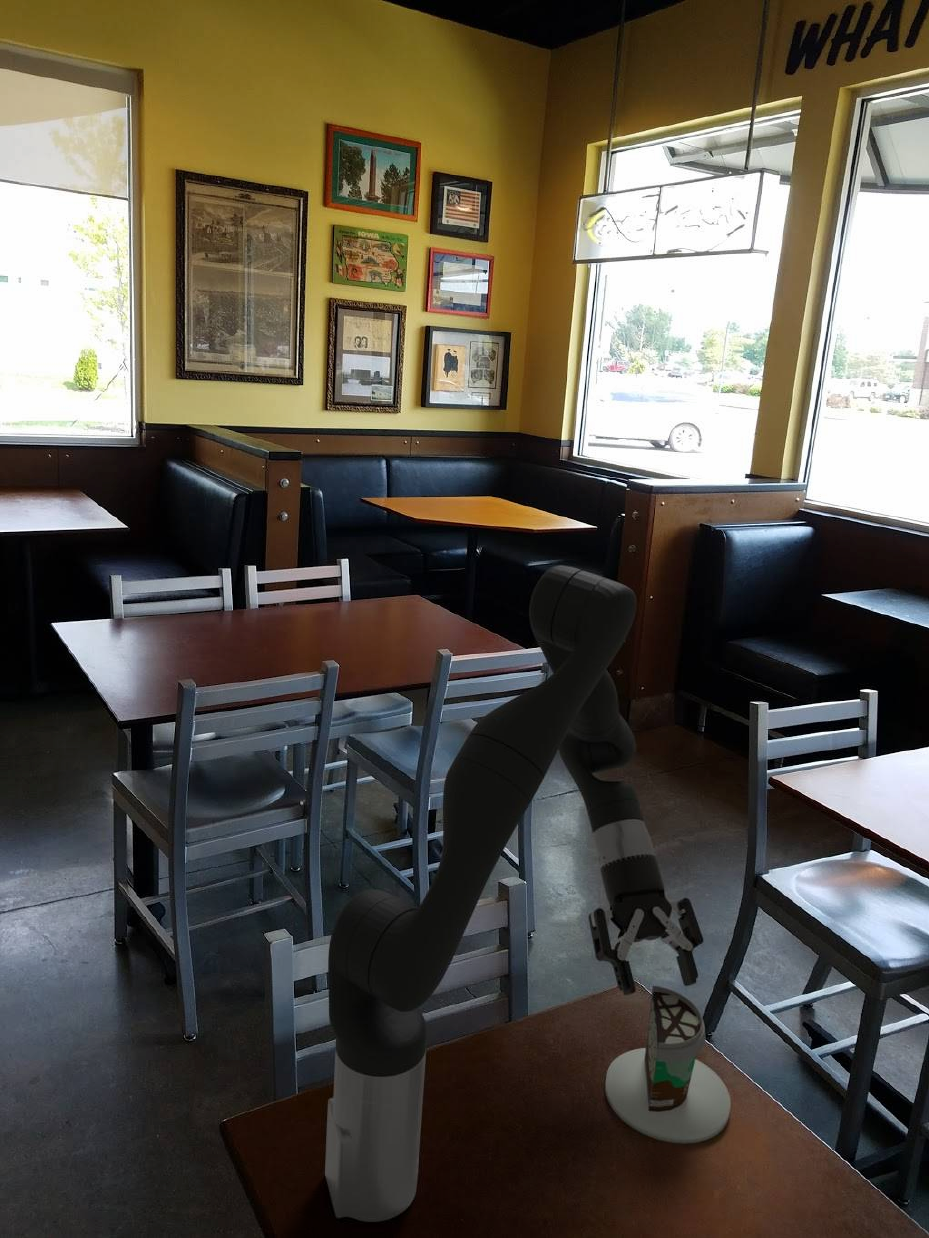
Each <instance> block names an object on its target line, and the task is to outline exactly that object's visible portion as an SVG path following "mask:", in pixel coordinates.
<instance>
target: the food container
mask: <svg viewBox="0 0 929 1238" xmlns="http://www.w3.org/2000/svg"><path fill="white" fill-rule="evenodd" d="M650 998H651V999H650V1007H649V1008H650V1009H649V1016H648V1025H647V1033H646V1042H645V1048H646V1050H645V1072H646V1085H647V1098H648V1111H655V1112H661V1111H669V1110H672V1109H674V1108H677V1107H679V1106H680V1105H681V1104H682V1103H683V1102H684V1101H685V1100H686V1097H687V1093H688V1089H689V1085H690V1080H691V1076H692V1072H693V1067H694V1063H695V1059H696V1060H697V1055H698V1054H699V1053H700V1052H701V1051H702V1050H703V1048H704V1046H705V1044H706V1039H707V1038H706V1028H705V1022H704V1018H703V1016H702V1013H701V1011H700V1009H699V1008H698V1007H697V1006H696V1005H695V1004H694V1003H693V1002H692V1001H691V1000H690V999H689V998H687V997H685V996H684V995H682V994H681V993H679V992H677V991H674V990H672V989H668V988H667V987H663V986H662V987H661V986H659V985H652V989H651V995H650Z"/></svg>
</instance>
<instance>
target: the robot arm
mask: <svg viewBox="0 0 929 1238" xmlns="http://www.w3.org/2000/svg"><path fill="white" fill-rule="evenodd" d="M637 601H638V600H637V597H636V594H635V592H634V591H633V590H632V589H631V588H630V587H628V586H626V585H625V584H622V583H620V582H617V581H615V580H613V579H609V578H606V577H604V576H601V575H598V574H594V573H592V572H589V571H586V570H583V569H581V568H577V567H573V566H569V565H568V566H567V565H561V564H560V565H555V566H552V567H549V569H547V570H546V571H545V572H544V573H543V574H542V575H541V577H540V578H539V579H538V581H537V583H536V585H535V587H534V589H533V592H532V594H531V597H530V602H529V607H528V608H529V609H528V615H529V618H528V619H529V624H530V627H531V631H532V633H533V636H534V638H535V641H536V642H537V644H538V646H539V648H540V650H541V652H542V653H543V656H544V658H545V660H546V662H547V664H548V666H549V668H550V671H551V672H552V674H551V675H550V676H549V677H547V678H546V679H545V680H544V681H542V682H541V683H539V684H538V685H537V684H536V686H534V687H532V688H531V689H529V690H528V691H527V690H526V691H525V692H523V693H521V694H520V695H518V696H515V697H513V698H512V699H510V700H509V701H506V702H505V703H503V704H502V705H499V706H498V707H496V708H495V709H493V710H491V711H490V712H489V713H487V714H486V715H485V716H483V717H482V718H481V719H480V720H479V721H478V722H477V723H476V724H475V725H474V727H473V728H472V730H471V731H470V732H469V734H468V736H467V737H466V739H465V741H464V742H463V745H462V746H461V748H460V749H459V751H458V752H457V754H456V756H455V757H454V758H453V761H452V763H451V765H450V766H449V769H448V771H447V773H446V775H445V779H444V785H443V792H442V849H441V854H440V855H441V856H440V860H439V864H438V867H437V871H436V873H435V874H434V878H433V881H432V882H431V884H430V886H429V889H428V891H427V892H426V895H425V897H424V898H423V900H422V902H420V905H419V906H418V907H416V906H414V905H413V904H411V903H409V902H407V901H406V900H403V899H401V898H399V897H397V896H395V895H393V894H391V893H388V892H386V891H384V890H380V889H366V890H363V891H361V892H359V893H357V894H355V895H353V896H352V897H351V899H349V901H347V903H345V905H344V906H343V908H342V909H341V911H340V912H339V913H338V915H337V917H336V921H335V923H334V925H333V929H332V932H331V935H330V940H329V947H328V958H327V961H328V962H327V976H328V977H327V979H328V981H327V982H328V983H327V984H328V985H327V986H328V988H327V989H328V1019H329V1024H330V1027H331V1030H332V1032H333V1035H334V1037H335V1056H334V1058H335V1059H334V1075H333V1076H334V1077H333V1080H334V1081H333V1097H331V1098H329V1099H328V1100H327V1115H326V1116H327V1119H326V1142H325V1164H324V1165H325V1166H324V1176H325V1180H326V1183H327V1187H328V1191H329V1194H330V1199H331V1203H332V1208H333V1210H334V1214H335V1215H334V1216H335V1218H337V1219H341V1218H350V1219H351V1218H352V1219H355V1220H357V1221H360V1222H366V1223H367V1222H368V1223H374V1222H375V1223H377V1222H383V1221H388V1220H391V1219H393V1218H396V1217H397V1216H399V1215H400V1214H402V1213H403V1212H405V1211H406V1210H407V1209H408V1208H409V1207H410V1206H411V1204H412V1202H413V1200H414V1199H415V1197H416V1193H417V1184H418V1179H419V1178H418V1177H419V1157H420V1156H419V1155H420V1144H421V1143H420V1142H421V1130H422V1129H421V1127H422V1115H423V1100H424V1088H425V1087H424V1085H425V1084H424V1083H425V1073H426V1071H425V1070H426V1054H427V1041H428V1040H427V1039H428V1028H427V1022H426V1019H425V1016H424V1015H423V1013H422V1011H421V1010H420V1009H419V1008H420V1007H421V1006H422V1005H423V1004H425V1002H427V1000H429V999H430V997H431V996H432V995H433V993H435V991H436V989H437V988H438V987H439V985H440V984H441V981H442V980H443V978H444V977H445V975H446V973H447V971H448V969H449V967H450V965H451V963H452V961H453V959H454V956H455V954H456V952H457V950H458V948H459V946H460V944H461V941H462V938H463V936H464V934H465V932H466V929H467V927H468V925H469V923H470V920H471V918H472V916H473V913H474V911H475V909H476V907H477V904H478V902H479V900H480V898H481V896H482V894H483V891H484V889H485V887H486V886H487V883H488V881H489V879H490V877H491V874H492V872H493V871H494V869H495V867H496V865H497V863H498V861H499V859H500V857H501V855H502V854H503V852H504V850H505V848H506V846H507V844H508V842H509V840H510V839H511V838H512V836H513V834H514V831H515V830H516V829H517V827H518V824H519V823H520V821H521V819H522V818H523V816H524V814H525V813H526V811H527V809H528V808H529V806H530V804H531V803H532V801H533V799H534V797H535V795H536V793H537V792H538V789H539V788H540V786H541V785H542V782H543V780H544V779H545V777H546V775H547V772H548V771H549V769H550V767H551V765H552V763H553V761H554V759H555V758H556V755H557V753H559V755H560V758H561V760H562V763H563V764H564V766H565V768H566V769H567V771H568V773H569V774H570V777H571V778H572V779H573V781H574V783H575V784H576V786H577V788H578V790H579V793H580V795H581V797H582V800H583V802H584V805H585V808H586V811H587V815H588V819H589V823H590V827H591V831H592V832H591V833H592V836H593V841H594V843H593V844H594V851H595V854H596V860H597V861H596V862H597V864H598V867H599V870H600V872H599V873H600V875H601V879H602V884H603V888H604V892H605V896H606V900H607V901H608V904H609V909H606V910H605V909H603V908H602V907H598V908H597V909H595V910H594V911H592V912H590V913H589V915H588V923H589V929H590V933H591V938H592V945H593V949H594V955H595V959H596V960H597V961H598V962H602V961H603V962H608V963H610V964H611V965H612V969H613V972H614V976H615V980H616V985H617V988H618V989H619V991H620V992H622V993H623V995H624V996H630V995H632V994H634V993H636V990H637V989H636V985H635V981H634V977H633V973H632V969H631V965H630V961H629V960H626V959H627V957H628V954H629V952H630V948H631V946H632V945H633V944H634V943H639V942H642V941H643V940H646V941H655V940H658V939H659V940H660V941H661V942H662V943H663V944H666V945H668V947H670V948H671V949H672V950H673V951H674V952H675V953H676V955H677V956H676V962H677V965H678V968H679V969H678V970H679V973H680V976H681V980H682V983H683V986H685V987H690V986H693V985H695V984H697V979H698V977H699V972H698V968H697V965H696V962H695V958H694V954H693V950H695V948H697V947H699V946H700V945H702V944H703V943H704V937H703V934H702V931H701V927H700V926H699V922H698V920H697V917H696V913H695V910H694V908H693V905H692V902H691V900H690V898H688V897H684V898H682V899H680V900H678V901H672V902H670V901H669V900H668V899H667V897H666V893H665V885H664V881H663V878H662V874H661V870H660V868H659V863H658V859H657V856H656V853H655V852H656V851H655V849H654V845H653V842H652V839H651V836H650V834H649V831H648V829H647V827H646V824H645V820H644V817H643V813H642V809H641V806H640V803H639V799H638V795H637V792H636V790H635V788H634V785H632V784H631V783H629V782H627V781H619V780H617V781H616V780H603V779H598V778H597V777H596V776H595V775H593V774H594V773H595V774H596V773H600V772H605V771H610V770H614V769H618V768H619V769H620V768H623V767H625V766H626V765H629V764H630V763H631V762H632V761H633V758H634V757H635V755H636V752H637V744H636V738H635V735H634V733H633V732H632V731H633V730H632V729H631V728H630V725H629V724H628V722H627V721H626V720H625V718H624V717H623V716H622V715H621V714H620V710H619V708H620V707H619V699H618V698H619V697H618V693H617V689H616V684H615V682H614V680H613V678H612V676H611V674H610V673H609V672H608V668H609V666H610V665H611V663H612V662H613V660H614V658H615V657H616V655H617V654H618V652H619V650H620V649H621V648H622V647H623V644H624V643H625V641H626V639H627V636H628V634H629V632H630V630H631V628H632V625H633V623H634V620H635V616H636V613H637V607H638V606H637V603H638V602H637ZM672 914H673V917H674V918H675V919H677V921H678V923H679V926H677V925H676V923H674V922H673V921H672V920H671V919H670V918H671V915H672ZM610 921H611V922H612V924H613V925H614V926H615V927H616V928H617V929H618V932H617V935H616V937H615V940H614V943H613V948H612V944H611V939H610V934H609V929H608V927H609V926H610V924H611V923H610ZM679 927H680V928H679Z"/></svg>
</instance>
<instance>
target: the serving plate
mask: <svg viewBox="0 0 929 1238" xmlns="http://www.w3.org/2000/svg"><path fill="white" fill-rule="evenodd" d="M645 1050H646V1047H641V1048H636V1049H632V1050H629V1051H626V1052H624V1053H622V1054H620V1055H618V1056H617V1057H616V1058H615V1059H613V1061H612V1062H611V1063H610V1065H609V1066H608V1069H607V1071H606V1076H605V1077H606V1078H605V1084H604V1086H605V1087H604V1088H605V1089H604V1092H605V1095H606V1098H607V1101H608V1103H609V1105H610V1107H611V1109H612V1110H613V1112H614V1113H615V1115H617V1116H618V1117H619V1118H620V1119H621V1120H622V1121H623V1122H624V1123H625V1124H626V1125H628V1126H630V1127H631V1128H632V1129H634V1130H636V1131H637V1132H639V1133H641V1134H643V1135H645V1136H648V1137H649V1138H652V1139H655V1140H658V1141H663V1142H667V1143H674V1144H685V1145H686V1144H695V1143H701V1142H705V1141H707V1140H709V1139H712V1138H714V1137H716V1136H717V1135H718V1134H720V1133H721V1132H722V1131H723V1130H724V1129H725V1127H726V1125H727V1124H728V1121H729V1118H730V1111H731V1105H732V1104H731V1097H730V1093H729V1090H728V1088H727V1086H726V1084H725V1083H724V1082H723V1080H722V1079H721V1077H720V1076H719V1075H718V1074H717V1073H716V1072H715V1071H714V1070H712V1068H710V1067H709V1066H707V1065H706V1064H704V1063H703V1062H702V1061H700V1060H698V1059H697V1058H696V1059H695V1063H694V1067H693V1072H692V1076H691V1080H690V1085H689V1089H688V1093H687V1097H686V1100H685V1101H684V1102H683V1103H682V1104H681V1105H680V1106H679V1107H677V1108H674V1109H672V1110H669V1111H661V1112H655V1111H648V1098H647V1085H646V1072H645Z"/></svg>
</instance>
